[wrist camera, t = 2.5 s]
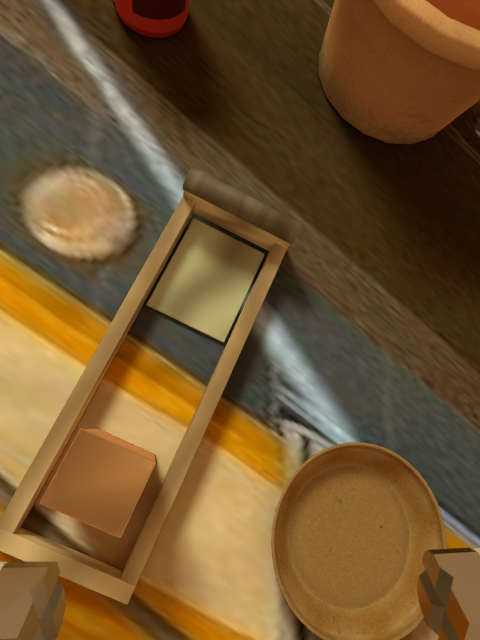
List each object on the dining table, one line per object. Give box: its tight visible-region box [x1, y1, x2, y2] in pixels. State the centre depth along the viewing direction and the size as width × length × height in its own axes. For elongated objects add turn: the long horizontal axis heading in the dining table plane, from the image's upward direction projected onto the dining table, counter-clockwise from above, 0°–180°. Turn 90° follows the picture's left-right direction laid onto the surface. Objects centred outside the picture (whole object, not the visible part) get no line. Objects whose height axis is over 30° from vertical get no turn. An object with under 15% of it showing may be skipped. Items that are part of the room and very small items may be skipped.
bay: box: [0, 167, 302, 605], centre depth 33 cm, size 10×32×5 cm, turn 156°
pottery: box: [318, 0, 480, 144], centre depth 41 cm, size 22×22×14 cm
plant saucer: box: [271, 442, 447, 640], centre depth 34 cm, size 15×15×3 cm
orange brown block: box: [40, 428, 156, 538], centre depth 29 cm, size 5×5×8 cm
